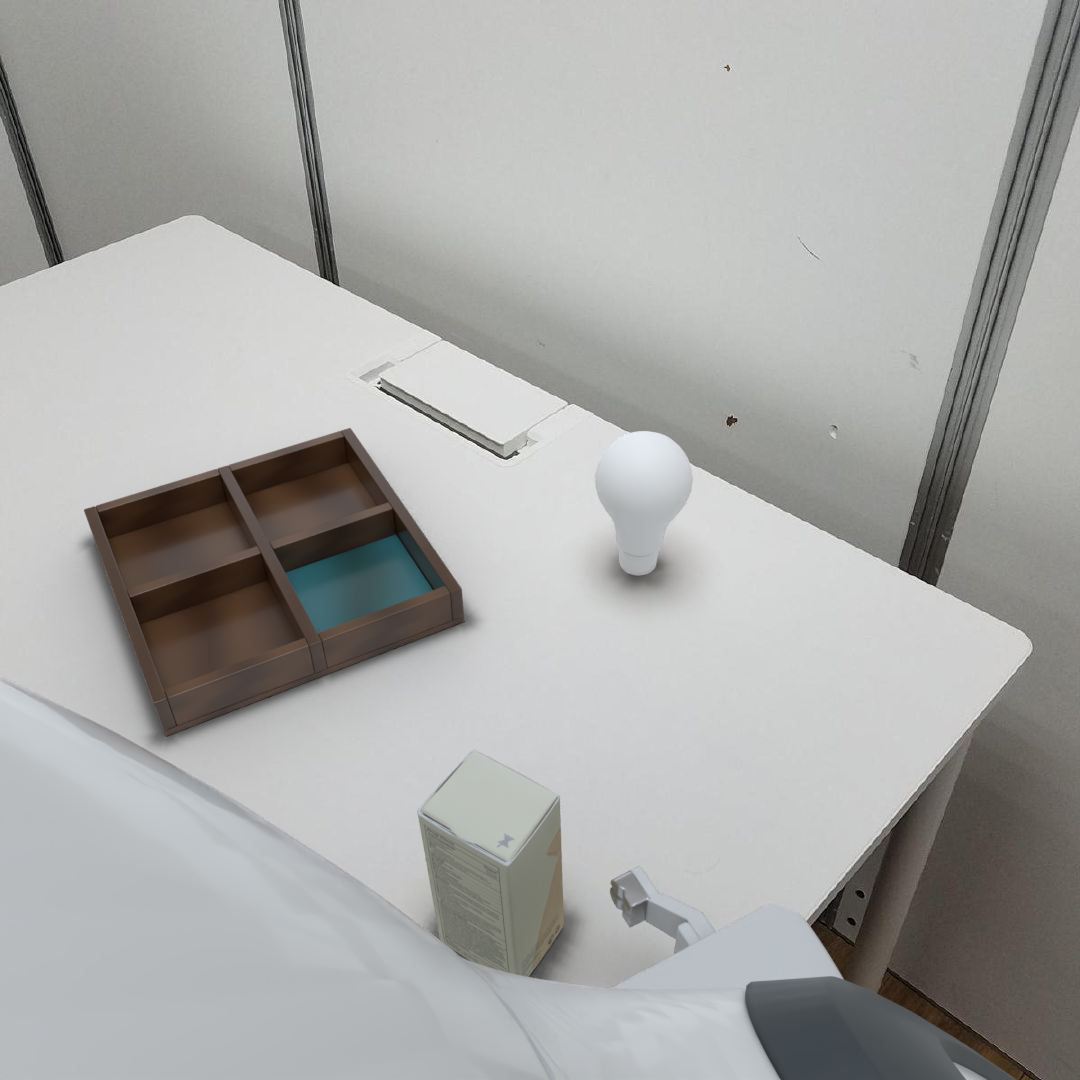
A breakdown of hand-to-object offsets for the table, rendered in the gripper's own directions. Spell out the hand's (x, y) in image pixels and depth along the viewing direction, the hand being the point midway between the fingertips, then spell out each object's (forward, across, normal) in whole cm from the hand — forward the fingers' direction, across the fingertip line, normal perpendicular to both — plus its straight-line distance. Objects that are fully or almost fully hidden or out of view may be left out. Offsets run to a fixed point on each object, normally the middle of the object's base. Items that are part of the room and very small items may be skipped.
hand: (531, 924), depth 49 cm
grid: (+34, +2, +7) cm, 35 cm away
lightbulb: (+23, -20, +7) cm, 31 cm away
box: (+4, 0, +7) cm, 8 cm away
